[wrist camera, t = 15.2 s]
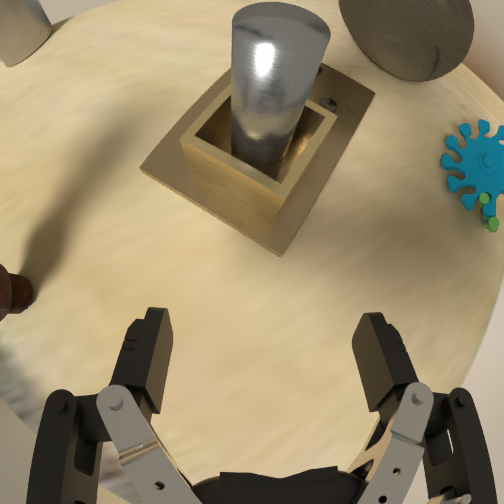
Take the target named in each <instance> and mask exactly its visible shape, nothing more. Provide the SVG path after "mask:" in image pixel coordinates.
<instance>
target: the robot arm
mask: <svg viewBox="0 0 504 504" xmlns="http://www.w3.org/2000/svg"><path fill="white" fill-rule="evenodd" d="M52 30H53V27H52V25H51V23H50V21H49V19H48V18H47V16H46V14H45V12H44V10H43V8H42V6H41V4H40V2H39V0H0V59H1V60H2V61H3V62H4V64H5V65H6V66H8V67H10V66H13V65H16V64H17V63H19V62H21V61H22V60H24V59H25V58H27V57H28V56H29V55H31V54H32V53H33V52H34V51H35V50H36V49H38V48H39V47H40V46H41V45H42V44H43V43H44V42H45V40H46V39H47V38H48V37H49V36H50V34H51V32H52ZM124 339H125V340H124V341H123V344H122V349H121V350H120V353H119V356H118V360H117V363H116V366H115V369H114V372H113V376H112V379H111V382H110V383H109V385H108V386H107V387H105V388H104V389H102V390H101V391H100V393H98V394H94V395H86V396H74V395H73V394H72V393H71V392H69V391H67V390H64V389H59V390H56V391H54V392H52V393H51V394H50V395H49V397H48V398H47V401H46V404H45V407H44V411H43V415H42V418H41V422H40V426H39V430H38V434H37V439H36V444H35V448H34V453H33V458H32V464H31V470H30V476H29V483H28V491H27V500H26V504H96V501H97V488H98V478H99V469H100V461H101V453H102V446H103V442H108V441H113V443H114V445H115V447H116V449H117V451H118V453H119V456H120V457H119V460H120V463H121V465H122V467H123V469H124V471H125V473H126V475H127V476H128V478H129V480H130V481H131V483H132V485H133V486H134V488H135V490H136V491H137V493H138V494H139V496H140V497H141V499H142V500H143V502H144V503H145V504H402V502H403V500H404V498H405V496H406V494H407V492H408V490H409V488H410V485H411V483H412V481H413V478H414V476H415V474H416V472H417V469H418V467H419V464H420V461H421V459H423V464H424V470H425V477H426V483H427V489H428V498H429V501H428V502H427V504H498V503H497V495H496V489H495V483H494V477H493V472H492V467H491V462H490V457H489V453H488V449H487V445H486V442H485V437H484V434H483V430H482V427H481V424H480V420H479V417H478V414H477V411H476V407H475V405H474V402H473V399H472V397H471V394H470V393H469V392H468V391H467V390H466V389H464V388H455V389H453V390H452V391H451V392H450V393H449V394H443V393H434V392H432V391H431V390H430V388H429V387H428V386H426V385H425V384H423V383H420V382H419V380H418V378H417V376H416V373H415V370H414V368H413V365H412V363H411V360H410V358H409V355H408V353H407V352H406V348H405V346H404V344H403V341H402V338H401V336H400V334H399V332H398V331H397V330H396V329H395V327H394V326H393V325H392V324H387V322H386V320H385V318H384V316H383V314H382V313H381V312H374V313H364V314H363V315H362V317H361V319H360V322H359V324H358V326H357V328H356V330H355V332H354V335H353V338H352V349H353V352H354V356H355V359H356V363H357V366H358V370H359V373H360V377H361V381H362V385H363V388H364V392H365V396H366V400H367V404H368V408H369V412H375V411H379V415H380V416H379V417H378V419H377V421H376V423H375V425H374V427H373V429H372V431H371V433H370V435H369V437H368V439H367V441H366V443H365V445H364V447H363V449H362V451H361V452H360V454H359V455H358V456H357V457H356V459H355V460H354V461H353V462H352V464H351V465H350V467H349V468H348V470H347V472H344V471H338V467H337V466H333V467H326V468H318V469H310V470H307V471H304V472H301V473H298V474H295V475H292V476H288V477H285V478H274V477H268V476H263V475H258V474H254V473H235V472H220V476H216V477H212V478H208V479H206V480H203V481H201V482H199V483H197V484H195V485H194V486H193V485H192V483H191V482H190V481H189V480H188V478H187V477H186V476H185V474H184V473H183V471H182V470H181V469H180V467H179V466H178V465H177V463H176V462H175V461H174V459H173V458H172V457H171V455H170V454H169V452H168V451H167V449H166V448H165V446H164V444H163V443H162V441H161V440H160V438H159V437H158V435H157V433H156V432H155V430H154V428H153V427H152V425H151V423H150V422H151V417H152V413H154V414H160V411H161V405H162V399H163V393H164V388H165V382H166V377H167V372H168V366H169V361H170V356H171V351H172V346H173V331H172V326H171V322H170V317H169V312H168V309H167V308H157V307H149V308H148V309H147V312H146V315H145V318H144V319H136V320H135V321H134V322H133V323H132V324H131V325H130V326H129V327H128V330H127V333H126V335H125V338H124ZM448 429H449V433H450V437H451V441H452V446H453V454H452V449H451V445H450V441H449V436H448V432H447V430H448Z"/></svg>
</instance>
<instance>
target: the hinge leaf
mask: <svg viewBox="0 0 504 504" xmlns="http://www.w3.org/2000/svg"><path fill="white" fill-rule="evenodd" d="M374 95H375V93H374V92H372V91H371V90H369V89H368V88H366V87H364V86H363V85H361V84H359V83H358V82H356V81H354V80H353V79H351V78H349V77H347V76H346V75H344V74H342V73H340V72H338V71H336V70H335V69H333V68H331V67H329V66H327V65H325V64H323V63H320V66H319V69H318V71H317V74H316V77H315V79H314V82H313V85H312V87H311V90H310V93H309V95H308V98H307V100H306V103H305V106H304V108H303V111H302V114H301V116H300V119H299V122H298V124H297V127H296V130H295V132H294V135H293V138H292V140H291V143H290V146H289V148H288V151H287V153H286V156H285V159H284V161H283V164H282V167H281V169H280V171H279V173H278V174H277V176H276V177H275V178H273V179H272V178H270V177H268V176H267V175H265V174H263V173H262V172H260V171H258V170H256V169H255V168H253V167H251V166H249V165H248V164H246V163H244V162H242V161H241V160H239V159H237V158H235V157H233V156H231V68H230V69H229V70H228V71H227V72H226V73H225V74H223V75H222V76H221V77H220V78H219V79H218V80H217V81H216V82H215V83H214V84H213V85H212V86H211V87H210V88H209V89H208V90H207V91H206V92H205V93H204V94H203V95H202V96H201V97H200V98H199V99H198V100H197V101H196V102H195V103H194V104H193V105H192V107H191V108H190V109H189V110H188V111H187V112H186V113H185V114H184V115H183V116H182V117H181V118H180V120H179V121H178V122H177V123H176V124H175V125H174V126H173V127H172V129H171V130H170V131H169V132H168V133H167V134H166V135H165V137H164V138H163V139H162V140H161V141H160V143H159V144H158V145H157V146H156V147H155V149H154V150H153V151H152V152H151V154H150V155H149V156H148V157H147V159H146V160H145V161H144V162H143V164H142V165H141V166H140V167H139V168H140V170H141V171H142V173H144V174H146V175H147V176H149V177H151V178H152V179H154V180H156V181H157V182H159V183H161V184H162V185H164V186H166V187H167V188H169V189H171V190H172V191H174V192H175V193H177V194H179V195H180V196H182V197H184V198H185V199H187V200H189V201H190V202H192V203H194V204H195V205H197V206H198V207H200V208H202V209H203V210H205V211H207V212H208V213H210V214H211V215H213V216H215V217H216V218H218V219H220V220H221V221H223V222H224V223H226V224H228V225H229V226H231V227H233V228H234V229H236V230H237V231H239V232H241V233H242V234H244V235H245V236H247V237H249V238H250V239H252V240H254V241H255V242H257V243H258V244H260V245H262V246H263V247H265V248H266V249H268V250H270V251H271V252H273V253H274V254H276V255H278V256H279V257H281V256H282V255H283V254H284V252H285V250H286V249H287V247H288V245H289V244H290V242H291V240H292V239H293V237H294V235H295V234H296V232H297V230H298V229H299V227H300V225H301V224H302V222H303V220H304V219H305V217H306V215H307V214H308V212H309V210H310V208H311V207H312V205H313V203H314V202H315V200H316V198H317V197H318V195H319V193H320V191H321V190H322V188H323V186H324V184H325V183H326V181H327V179H328V177H329V176H330V174H331V172H332V171H333V169H334V167H335V165H336V164H337V162H338V160H339V158H340V156H341V155H342V153H343V151H344V149H345V148H346V146H347V144H348V142H349V140H350V139H351V137H352V135H353V133H354V131H355V130H356V128H357V126H358V124H359V122H360V121H361V119H362V117H363V115H364V113H365V112H366V110H367V108H368V106H369V104H370V102H371V100H372V99H373V97H374Z"/></svg>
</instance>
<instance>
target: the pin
mask: <svg viewBox="0 0 504 504" xmlns="http://www.w3.org/2000/svg"><path fill="white" fill-rule="evenodd" d="M330 36H331V34H330V30H329V27H328V26H327V24H326V23H325V22H324V21H323V20H322V19H321V18H320V17H319V16H317V15H316V14H314V13H312V12H311V11H309V10H306V9H304V8H302V7H299V6H295V5H292V4H287V3H280V2H261V3H255V4H251V5H248V6H246V7H244V8H242V9H240V10H239V11H237V13H236V14H235V15H234V17H233V19H232V63H231V156H233V157H235V158H237V159H239V160H241V161H242V162H244V163H246V164H248V165H249V166H251V167H253V168H255V169H256V170H258V171H260V172H262V173H263V174H265V175H267V176H268V177H270V178H272V179H273V178H275V177H276V176H277V174H278V173H279V171H280V169H281V167H282V164H283V161H284V159H285V156H286V153H287V151H288V148H289V146H290V143H291V140H292V138H293V135H294V132H295V130H296V127H297V124H298V122H299V119H300V116H301V114H302V111H303V108H304V106H305V103H306V100H307V98H308V95H309V93H310V90H311V87H312V85H313V82H314V79H315V77H316V74H317V71H318V69H319V66H320V63H321V61H322V58H323V56H324V53H325V50H326V48H327V45H328V42H329V40H330Z"/></svg>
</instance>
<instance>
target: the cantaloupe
mask: <svg viewBox="0 0 504 504" xmlns="http://www.w3.org/2000/svg"><path fill="white" fill-rule="evenodd" d="M339 7H340V11H341V14H342V17H343V20H344V22H345V24H346V26H347V28H348V30H349V32H350V34H351V35H352V37H353V38H354V40H355V41H356V43H357V44H358V46H359V47H360V48H361V49H362V51H363V52H364V53H365V54H366V55H367V56H368V57H369V58H370V59H371V60H372V61H373V62H375V63H376V64H377V65H378V66H380V67H381V68H382V69H384V70H385V71H387V72H389V73H390V74H392V75H394V76H396V77H399V78H402V79H405V80H410V81H429V80H433V79H436V78H439V77H442V76H443V75H445V74H447V73H449V72H450V71H452V70H453V69H455V68H456V67H457V66H458V65H459V64H460V63H461V62H462V61H463V59H464V58H465V57H466V55H467V53H468V51H469V48H470V46H471V43H472V39H473V33H474V18H473V13H472V8H471V4H470V2H469V0H339Z"/></svg>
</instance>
